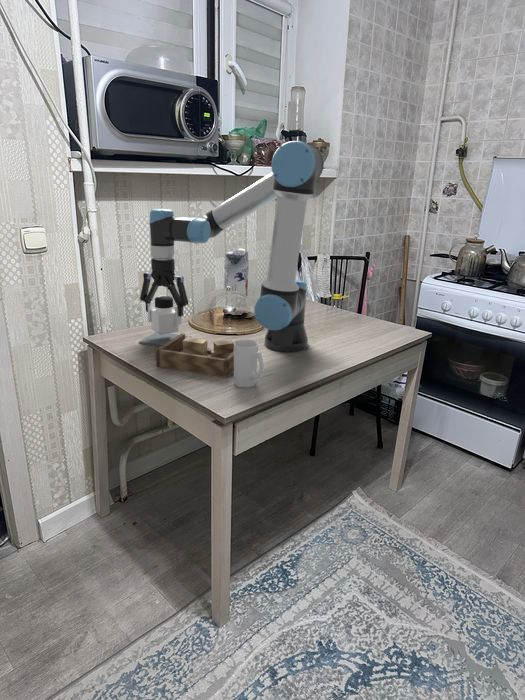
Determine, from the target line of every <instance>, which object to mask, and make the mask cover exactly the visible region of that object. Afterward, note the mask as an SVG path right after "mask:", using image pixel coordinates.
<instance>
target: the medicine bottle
mask: <svg viewBox="0 0 525 700" xmlns="http://www.w3.org/2000/svg"><path fill="white" fill-rule="evenodd" d="M150 324H151V326H150V327H151V330H152V331H154V333H155V332H156V333H158V334H159V335H161V334H167V333H170V334H174V333H178V332H179V326H176V320H175V309H174V299H173V297H172V296H171V295H158V296H156V297H154V309H152V310H151V322H150Z"/></svg>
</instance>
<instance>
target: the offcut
mask: <svg viewBox="0 0 525 700" xmlns="http://www.w3.org/2000/svg"><path fill="white" fill-rule="evenodd" d="M207 349H208V339H203V338H196V337H192V338H190V337H187V338H186V339H184V340H183V351H182V352H183V353H190V354H196V355H203V356H207V355H208V353H207Z"/></svg>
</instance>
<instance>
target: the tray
mask: <svg viewBox="0 0 525 700" xmlns="http://www.w3.org/2000/svg"><path fill="white" fill-rule="evenodd" d="M178 335H179V336H177V337H175V338H174V339H172V340H171V341H169V342H168V343H166V344H165V345H163V346H161V347H160V346H159V347H158V348H157V349H156V350H155V358H156V359H155V360H156V366H157V367H159V368H160V367H161V368H167V369H171V370H178V371H179V370H180V371H185V372H191V373H196V374H197V373H198V374H204V375H210V376H216V377H221V378H228V377H230V376H231V375H232V374H233V373H234V351H233V352H232V353H231V354H230V355H229V356H228V357H227V358H226V359H222V358H216V357H211V356H207V355H208V354H209V355H211V351H212V350H213V349H210V348H209V349H208V348H207V355H206V356H203V355H196V354H190V353H183V340H184V339H185V336H186V334H185V333H180V334H178Z"/></svg>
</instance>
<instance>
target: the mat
mask: <svg viewBox="0 0 525 700" xmlns="http://www.w3.org/2000/svg"><path fill="white" fill-rule="evenodd" d="M179 335H180V334H176V333H175V334H174V333H167V334H161V335H159V334H158V333H156V332H155V331H154V332H153V333H152V334H150V335H148V336H147V337H145V338H143V339H141V340H139V341H138V344H142V345H147V346H154V347H159V348H160V347H161V346H163V345H165V344H166V343H168V342H169V341H171V340H172V339H174V338H175V337H177V336H179ZM187 337H190V338H193V337H192V336H188V335H185V339H186V338H187Z"/></svg>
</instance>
